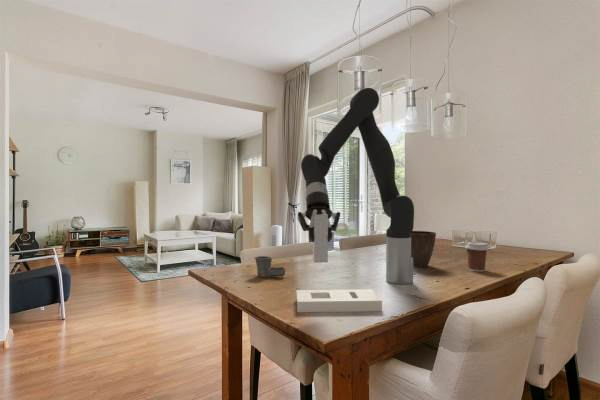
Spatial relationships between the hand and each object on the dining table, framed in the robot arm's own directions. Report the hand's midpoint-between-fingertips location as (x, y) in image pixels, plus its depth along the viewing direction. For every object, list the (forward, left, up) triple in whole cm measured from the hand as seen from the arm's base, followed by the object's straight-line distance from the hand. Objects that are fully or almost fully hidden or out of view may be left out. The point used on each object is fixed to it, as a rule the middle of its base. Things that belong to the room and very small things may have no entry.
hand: (321, 240), depth 92 cm
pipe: (+17, -37, -20) cm, 46 cm away
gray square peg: (0, -2, -7) cm, 7 cm away
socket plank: (-5, -2, -20) cm, 21 cm away
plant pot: (-53, -56, -20) cm, 80 cm away
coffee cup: (-75, -46, -20) cm, 90 cm away
